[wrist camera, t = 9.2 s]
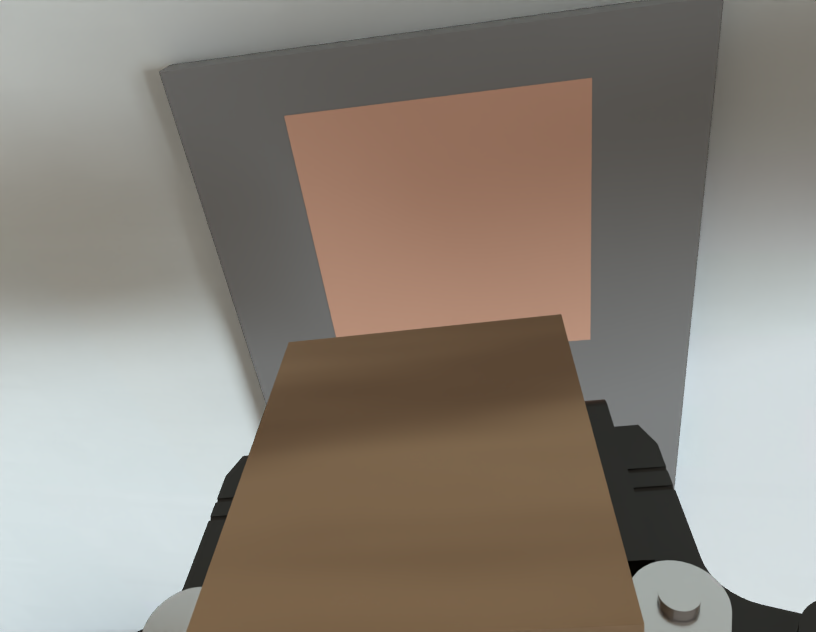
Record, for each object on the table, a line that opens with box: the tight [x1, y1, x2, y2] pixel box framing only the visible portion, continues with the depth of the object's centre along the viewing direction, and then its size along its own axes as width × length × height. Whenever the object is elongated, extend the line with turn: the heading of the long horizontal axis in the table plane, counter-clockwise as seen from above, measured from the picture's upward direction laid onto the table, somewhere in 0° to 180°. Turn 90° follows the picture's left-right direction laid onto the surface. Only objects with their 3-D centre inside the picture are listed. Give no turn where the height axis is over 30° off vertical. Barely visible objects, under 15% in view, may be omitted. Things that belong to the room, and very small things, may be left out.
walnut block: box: [186, 314, 645, 632], centre depth 11 cm, size 5×5×6 cm
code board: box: [159, 0, 723, 488], centre depth 26 cm, size 33×14×1 cm, turn 8°
